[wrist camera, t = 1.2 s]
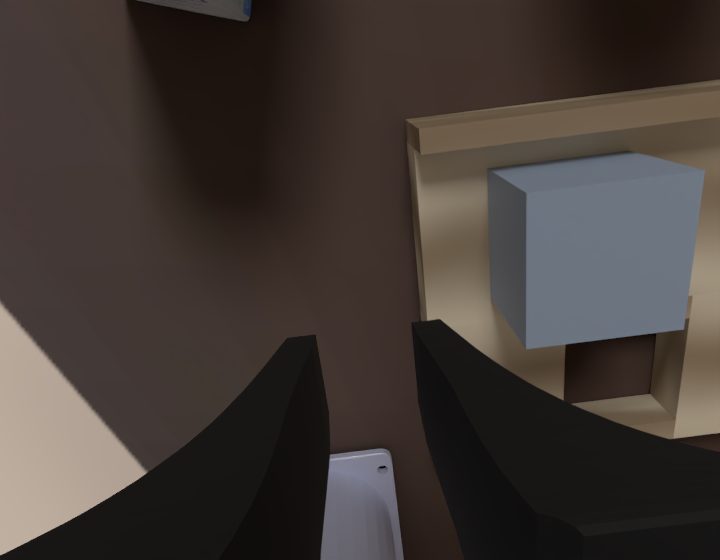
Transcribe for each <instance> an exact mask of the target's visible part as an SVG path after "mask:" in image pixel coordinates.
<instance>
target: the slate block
mask: <svg viewBox="0 0 720 560" xmlns="http://www.w3.org/2000/svg"><path fill="white" fill-rule="evenodd" d="M704 176H705V170H702V169H698V168H694V167H690V166H687V165H683V164H679V163H675V162H671V161H667V160H664V159H660V158H656V157H652V156H648V155H644V154H641V153H637V152H633V151H621V152H613V153H605V154H598V155H590V156H582V157H574V158H566V159H558V160H550V161H542V162H535V163H527V164H519V165H511V166H503V167H495V168H487V182H488V222H489V261H490V298H491V300H492V301H493V302H494V304H495V305H496V307H497V308H498V310H499V311H500V313H501V314H502V315H503V317H504V318H505V320H506V321H507V323H508V324H509V326H510V327H511V328H512V330H513V331H514V333H515V334H516V336H517V337H518V339H519V340H520V341H521V343H522V344H523V346H524V347H525V349H533V348H540V347H548V346H556V345H564V344H572V343H580V342H588V341H596V340H604V339H612V338H620V337H628V336H636V335H644V334H651V333H659V332H667V331H675V330H683V329H684V325H685V318H686V310H687V303H688V295H689V288H690V280H691V273H692V265H693V258H694V250H695V243H696V235H697V228H698V221H699V213H700V206H701V198H702V191H703V183H704Z"/></svg>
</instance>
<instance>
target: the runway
mask: <svg viewBox="0 0 720 560" xmlns="http://www.w3.org/2000/svg"><path fill="white" fill-rule="evenodd" d="M405 128H406V140H407V152H408V164H409V177H410V189H411V201H412V213H413V225H414V238H415V250H416V262H417V274H418V286H419V299H420V311H421V321H428V320H436V319H441V320H442V321H443V322H444V323H446V324H447V325H448V326H449V327H450V328H452V329H453V330H454V331H455V332H457V333H458V334H459V335H460V336H462V337H463V338H464V339H465V340H467V341H468V342H469V343H470V344H472V345H473V346H474V347H475V348H477V349H478V350H479V351H481V352H482V353H484V354H485V355H486V356H488V357H489V358H491V359H492V360H493V361H495V362H496V363H498V364H499V365H501V366H502V367H504V368H506V369H507V370H509V371H510V372H512V373H514V374H515V375H517V376H519V377H520V378H522V379H523V380H525V381H527V382H529V383H530V384H532V385H534V386H536V387H538V388H540V389H542V390H544V391H546V392H548V393H550V394H552V395H554V396H556V397H558V398H560V399H562V400H563V397H564V370H565V344H564V345H556V346H548V347H540V348H533V349H525V347H524V346H523V344H522V343H521V341H520V340H519V339H518V337H517V336H516V334H515V333H514V331H513V330H512V328H511V327H510V326H509V324H508V323H507V321H506V320H505V318H504V317H503V315H502V314H501V313H500V311H499V310H498V308H497V307H496V305H495V304H494V302H493V301H492V300H491V298H490V261H489V222H488V182H487V168H495V167H503V166H511V165H519V164H527V163H535V162H542V161H550V160H558V159H566V158H574V157H582V156H590V155H598V154H605V153H613V152H621V151H633V152H637V153H641V154H644V155H648V156H652V157H656V158H660V159H664V160H667V161H671V162H675V163H679V164H683V165H687V166H690V167H694V168H698V169H702V170H705V176H704V183H703V191H702V198H701V206H700V213H699V221H698V228H697V235H696V243H695V250H694V258H693V265H692V273H691V280H690V288H689V295H688V303H687V310H686V318H685V325H684V329H683V330H675V331H667V332H659V333H657V334H656V343H655V352H654V361H653V370H652V379H651V388H650V394H645V395H637V396H629V397H621V398H613V399H605V400H597V401H589V402H581V403H573V404H572V405H575V406H577V407H579V408H582V409H584V410H586V411H589V412H592V413H594V414H597V415H599V416H602V417H604V418H607V419H609V420H612V421H614V422H617V423H620V424H623V425H626V426H629V427H632V428H635V429H637V430H640V431H643V432H647V433H650V434H653V435H657V436H660V437H663V438H667V439H675V438H683V437H691V436H699V435H706V434H714V433H720V79H719V80H712V81H704V82H696V83H688V84H680V85H672V86H665V87H657V88H649V89H641V90H633V91H625V92H617V93H610V94H602V95H594V96H586V97H578V98H570V99H563V100H555V101H547V102H539V103H531V104H523V105H515V106H508V107H500V108H492V109H484V110H476V111H468V112H460V113H453V114H445V115H437V116H429V117H421V118H413V119H406V120H405Z"/></svg>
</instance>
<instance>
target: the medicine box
mask: <svg viewBox="0 0 720 560" xmlns="http://www.w3.org/2000/svg"><path fill="white" fill-rule="evenodd" d="M137 1H142V2H147V3H152V4H157V5H162V6H167V7H172V8H177V9H182V10H187V11H192V12H197V13H202V14H208V15H213V16H218V17H223V18H228V19H234V20H239V21H248V20H249V19H250V15H251V3H252V0H137Z"/></svg>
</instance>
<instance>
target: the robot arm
mask: <svg viewBox="0 0 720 560" xmlns="http://www.w3.org/2000/svg"><path fill="white" fill-rule="evenodd" d="M412 335H413V346H414V357H415V368H416V380H417V391H418V402H419V407H420V412H421V417H422V422H423V427H424V432H425V436H426V441H427V445H428V448H429V451H430V454H431V457H432V460H433V463H434V466H435V469H436V472H437V475H438V478H439V481H440V484H441V487H442V490H443V493H444V496H445V499H446V502H447V505H448V508H449V511H450V514H451V517H452V520H453V522H454V525H455V528H456V531H457V534H458V538H459V541H460V545H461V548H462V552H463V555H464V559H465V560H720V452H717V451H712V450H708V449H704V448H699V447H695V446H691V445H687V444H684V443H680V442H677V441H673V440H670V439H667V438H663V437H660V436H657V435H653V434H650V433H647V432H643V431H640V430H637V429H635V428H632V427H629V426H626V425H623V424H620V423H617V422H614V421H612V420H609V419H607V418H604V417H602V416H599V415H597V414H594V413H592V412H589V411H586V410H584V409H582V408H579V407H577V406H575V405H572V404H570V403H568V402H566V401H564V400H562V399H560V398H558V397H556V396H554V395H552V394H550V393H548V392H546V391H544V390H542V389H540V388H538V387H536V386H534V385H532V384H530V383H529V382H527V381H525V380H523V379H522V378H520V377H519V376H517V375H515V374H514V373H512V372H510V371H509V370H507V369H506V368H504V367H502V366H501V365H499V364H498V363H496V362H495V361H493V360H492V359H491V358H489V357H488V356H486V355H485V354H484V353H482V352H481V351H479V350H478V349H477V348H475V347H474V346H473V345H472V344H470V343H469V342H468V341H467V340H465V339H464V338H463V337H462V336H460V335H459V334H458V333H457V332H455V331H454V330H453V329H452V328H450V327H449V326H448V325H447V324H446V323H444V322H443V321H442V320H441V319H436V320H428V321H420V322H412ZM380 466H386V467H385V468H383V469H380V468H378V467H380ZM0 560H404V557H403V549H402V541H401V532H400V524H399V516H398V507H397V499H396V491H395V482H394V474H393V465H392V458H391V454H390V452H389V451H388V450H386V449H372V450H364V451H356V452H348V453H340V454H333V455H330V429H329V410H328V405H327V399H326V393H325V387H324V381H323V376H322V370H321V364H320V358H319V352H318V346H317V341H316V335H308V336H300V337H292V338H287V339H286V340H285V341H284V343H283V344H282V345H281V346H280V347H279V349H278V350H277V351H276V352H275V354H274V355H273V356H272V357H271V359H270V360H269V361H268V362H267V364H266V365H265V366H264V367H263V369H262V370H261V371H260V372H259V373H258V375H257V376H256V377H255V378H254V379H253V380H252V382H251V383H250V384H249V385H248V386H247V387H246V389H245V390H244V391H243V392H242V393H241V394H240V395H239V396H238V397H237V398H236V399H235V400H234V401H233V402H232V403H231V404H230V405H229V406H228V407H227V408H226V409H225V410H224V411H223V412H222V413H221V414H220V415H219V416H218V417H217V418H216V419H215V420H214V421H213V422H212V423H211V424H210V425H209V426H207V427H206V428H205V429H204V430H203V431H202V432H201V433H199V434H198V435H197V436H196V437H195V438H193V439H192V440H191V441H190V442H189V443H187V444H186V445H185V446H184V447H182V448H181V449H180V450H179V451H177V452H176V453H174V454H173V455H172V456H170V457H169V458H167V459H166V460H165V461H163V462H162V463H161V464H159V465H158V466H156V467H155V468H154V469H152V470H151V471H149V472H148V473H147V474H145V475H144V476H143V477H141V478H140V479H138V480H137V481H135V482H134V483H132V484H130V485H129V486H127V487H126V488H124V489H123V490H121V491H119V492H118V493H116V494H115V495H113V496H111V497H110V498H108V499H106V500H105V501H103V502H101V503H100V504H98V505H96V506H94V507H93V508H91V509H89V510H88V511H86V512H84V513H82V514H81V515H79V516H77V517H75V518H73V519H72V520H70V521H68V522H66V523H64V524H62V525H60V526H58V527H56V528H54V529H52V530H50V531H48V532H46V533H45V534H43V535H41V536H39V537H37V538H35V539H33V540H31V541H29V542H27V543H25V544H23V545H21V546H19V547H17V548H15V549H13V550H11V551H9V552H7V553H5V554H3V555H1V556H0Z"/></svg>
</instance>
